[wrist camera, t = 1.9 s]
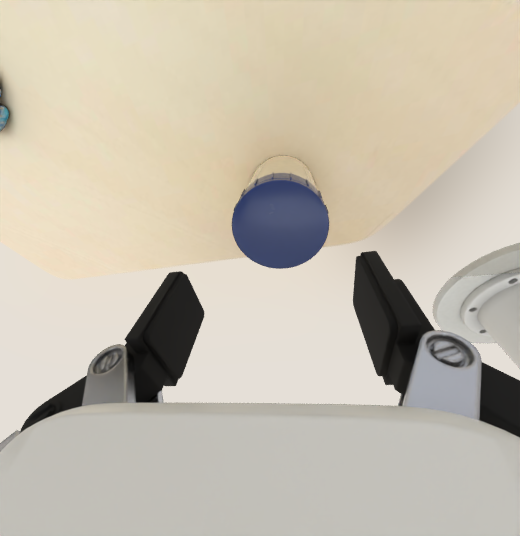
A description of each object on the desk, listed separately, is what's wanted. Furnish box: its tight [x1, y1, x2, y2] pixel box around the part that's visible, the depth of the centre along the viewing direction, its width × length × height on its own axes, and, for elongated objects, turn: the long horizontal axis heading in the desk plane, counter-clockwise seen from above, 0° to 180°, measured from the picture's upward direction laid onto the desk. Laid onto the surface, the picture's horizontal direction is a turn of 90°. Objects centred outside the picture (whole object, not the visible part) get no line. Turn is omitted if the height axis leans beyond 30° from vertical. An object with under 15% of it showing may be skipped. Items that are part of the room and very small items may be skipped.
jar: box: [248, 156, 317, 189], centre depth 20 cm, size 7×7×9 cm
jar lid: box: [232, 172, 329, 268], centre depth 17 cm, size 7×7×2 cm
